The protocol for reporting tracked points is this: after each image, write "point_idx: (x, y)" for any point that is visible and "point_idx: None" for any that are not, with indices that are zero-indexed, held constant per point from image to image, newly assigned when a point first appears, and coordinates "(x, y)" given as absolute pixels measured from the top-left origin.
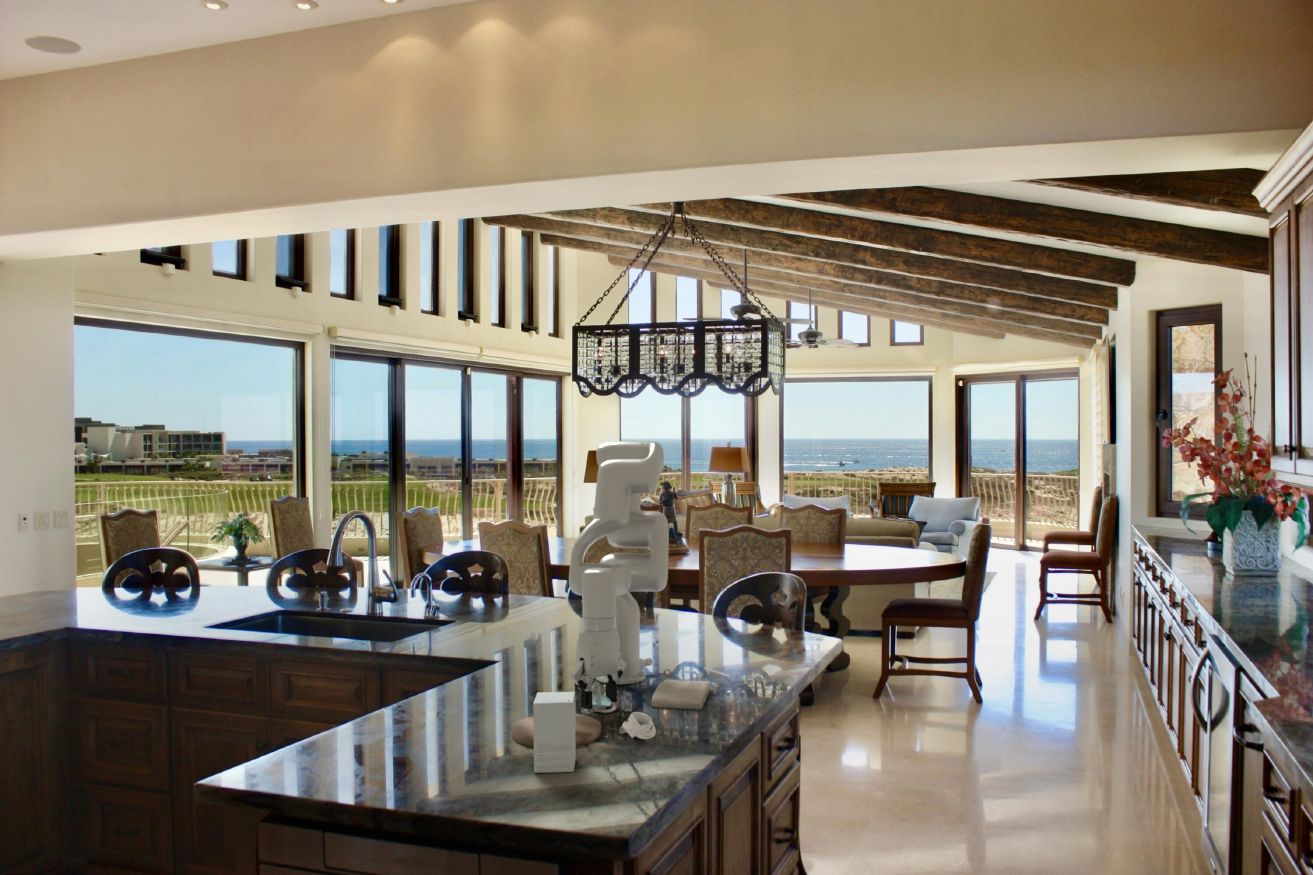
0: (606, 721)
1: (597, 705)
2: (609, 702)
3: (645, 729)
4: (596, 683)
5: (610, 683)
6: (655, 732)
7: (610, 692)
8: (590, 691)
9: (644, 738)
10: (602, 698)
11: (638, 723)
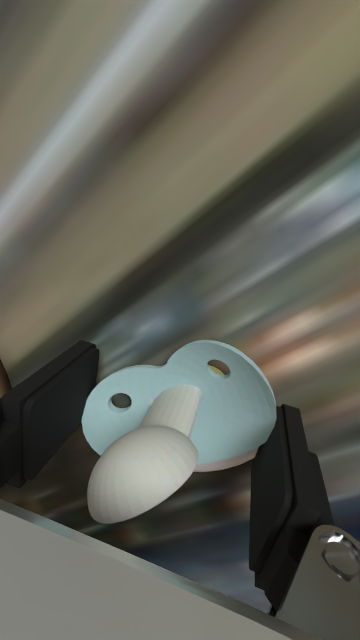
0: (76, 472)
1: (97, 442)
2: (230, 445)
3: None
4: (92, 514)
5: (276, 547)
6: None
7: (261, 484)
8: (8, 481)
9: None
10: (252, 399)
11: None
